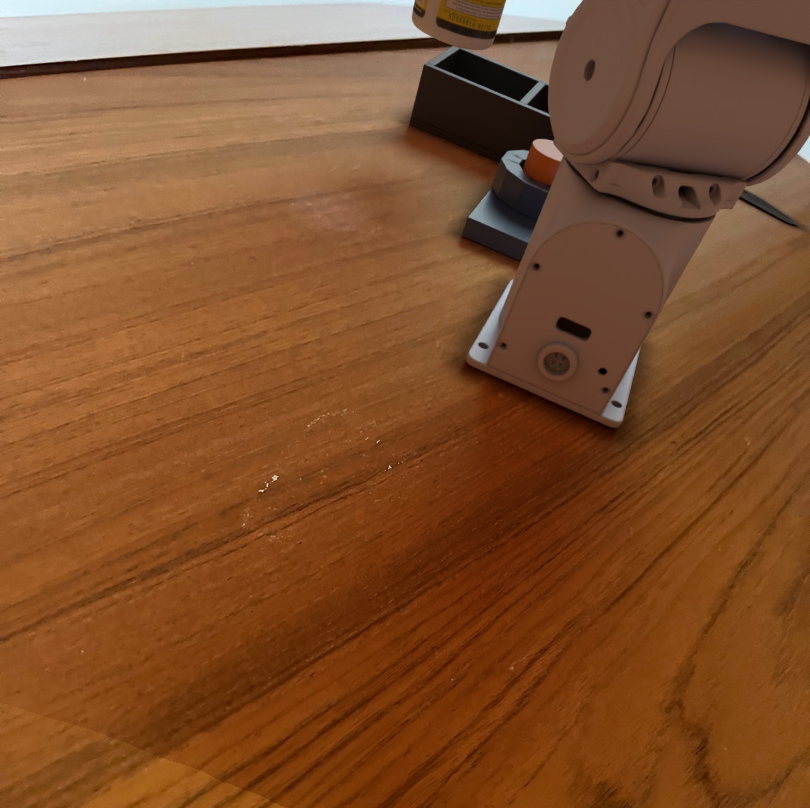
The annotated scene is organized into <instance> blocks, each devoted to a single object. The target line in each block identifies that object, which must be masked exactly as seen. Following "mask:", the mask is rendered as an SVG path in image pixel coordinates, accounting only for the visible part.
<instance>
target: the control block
mask: <svg viewBox="0 0 810 808" xmlns="http://www.w3.org/2000/svg"><path fill="white" fill-rule="evenodd" d="M528 153H529V151H526V150H515V151H507V152H506V153H505V154H504V156H503V157H502V158H501V159H500V162H498V166H497V168H496V171H495V174H494V177H493V180H492V183H491V187H490V189H489V190H488V191H487V192H486V194H485V195H484V196H483V197H482V199H481V200H480V201H479V202H478V204H477V205H476V206H475V207H474V209H473V210H472V211H471V212H470V214H469V215H468V216H467V217H466V221H465V224H464V227H463V230H462V233H461V236H462V237H463V238H466V239H468V240H470V241H473V242H475V243H478V244H480V245H482V246H484V247H487V248H489V249H490V250H494V251H496V252H498V253H501V254H503V255H505V256H507V257H510V258H512V259H514V260H517V261H519V262H521V260H522V258H523V255H524V253H525V250H526V248H527V245H528V243H529V240H530V238H531V235H532V233H533V230H534V228H535V225H536V223H537V220H538V218H539V215H540V213H541V210H542V208H543V205H544V203H545V200H546V198H547V195H548V193H549V190H550V188H551V186H549V185H547V184H544V183H542V182H540V181H537V180H535V179H533V178H532V177H530V176H529V175H527V174H526V173H525V172H524V171H523V167H524V164H525V161H526V159H527V156H528Z"/></svg>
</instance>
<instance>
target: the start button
mask: <svg viewBox="0 0 810 808" xmlns="http://www.w3.org/2000/svg"><path fill="white" fill-rule="evenodd" d="M562 158H563V154H562V153H561V152H560V151H559V150H558V149H557V148H556V147H555V146H554V143H553V141H551V140H546V139H536V140H534V141H533V142H532V145H531V148H530V150H529V153H528V156H527V159H526V161H525V164H524V167H523V171H524V172H525V173H526V174H527V175H529V176H530V177H532V178H533V179H535V180H537V181H540V182H542V183H544V184H547V185H549V186H551V185H552V183H553V180H554V178H555V175H556V173H557V170H558V168H559V165H560V163H561V160H562Z"/></svg>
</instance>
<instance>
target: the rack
mask: <svg viewBox="0 0 810 808" xmlns="http://www.w3.org/2000/svg"><path fill="white" fill-rule="evenodd" d="M548 88H549V82H548V81H547V82H546V81H544V80H543V79H539V78H537V77H535V76H532V75H530V74H529V73H528V74H527V73H525V72H523V71H520V70H518V69H515V68H513V67H511V66H508V65H506V64H504V63H501V62H499V61H496V60H494V59H492V58H489V57H486V56H484V55H482V54H479V53H478V52H474V51H473V50H470V49H463V48H459V47H456V46H453V45H451V47H449V48H447V49H446V50H444V51H442V52H441V53H439V54H438V55H436V56H435V57H433V58H432V59H430V60H429V61H427V62H426V63H423V66H422V71H421V74H420V78H419V82H418V86H417V91H416V94H415V99H414V102H413V106H412V111H411V115H410V119H409V123H408V124H409V125H410V126H412V127H415V128H417V129H420V130H422V131H425V132H426V133H430V134H432V135H434V136H436V137H439V138H441V139H443V140H445V141H448V142H451V143H453V144H455V145H457V146H460V147H462V148H463V149H464V148H465V149H467V150H469V151H472V152H474V153H476V154H478V155H481V156H483V157H486V158H488V159H489V160H493V161H495V162H498V163H499V162H500V159H501V158H502V157H503V156H504V154H505V153H506V152H507V151H515V150H526V151H529V150H530V148H531V145H532V142H533V141H534V140H536V139H546V140H551V141H553V140H554V135H553V131H552V126H551V121H550V116H549V109H548Z"/></svg>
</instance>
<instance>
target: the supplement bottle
mask: <svg viewBox="0 0 810 808" xmlns="http://www.w3.org/2000/svg"><path fill="white" fill-rule="evenodd" d="M506 3H507V0H414V3H413V6H412V11H411V22H412V23H413V25H414V26H415V27H416V29H418V30H419V31H421V32H422V33H423V34H425V35H427V36H428V37H431V38H433V39H435V40H437V41H440V42H442V43H445V44H447V45H450V46H456V47H459V48H463V49H468V50H470V51H483V50H488V49H489V48H491V47H492V46H493V43H494V41H495V38H496V36H497V33H498V29H499V27H500V23H501V20H502V17H503V12H504V11H505V6H506Z"/></svg>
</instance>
